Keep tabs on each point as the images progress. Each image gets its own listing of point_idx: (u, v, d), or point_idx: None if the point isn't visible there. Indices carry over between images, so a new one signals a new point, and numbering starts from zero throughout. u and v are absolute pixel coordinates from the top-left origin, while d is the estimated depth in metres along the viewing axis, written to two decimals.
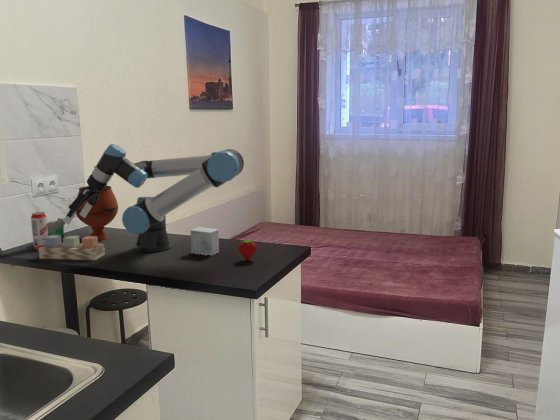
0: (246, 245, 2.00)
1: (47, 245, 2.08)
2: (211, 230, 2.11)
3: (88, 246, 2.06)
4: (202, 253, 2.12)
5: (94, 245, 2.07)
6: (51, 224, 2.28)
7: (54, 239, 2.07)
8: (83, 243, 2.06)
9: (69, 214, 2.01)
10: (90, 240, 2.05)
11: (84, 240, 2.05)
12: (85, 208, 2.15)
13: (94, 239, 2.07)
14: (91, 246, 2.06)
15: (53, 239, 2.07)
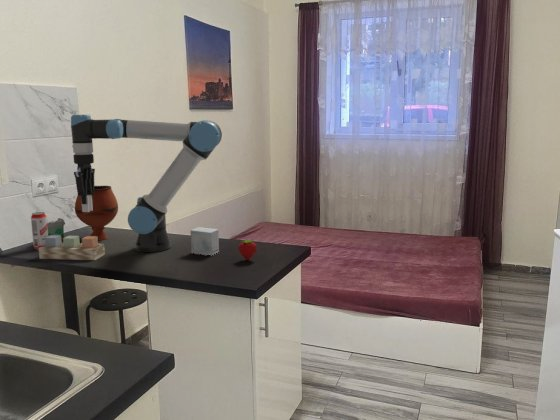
0: (246, 245, 2.00)
1: (47, 245, 2.08)
2: (211, 230, 2.11)
3: (88, 246, 2.06)
4: (202, 253, 2.12)
5: (94, 245, 2.07)
6: (51, 224, 2.28)
7: (54, 239, 2.07)
8: (83, 243, 2.06)
9: (83, 201, 2.02)
10: (90, 240, 2.05)
11: (84, 240, 2.05)
12: None
13: (94, 239, 2.07)
14: (91, 246, 2.06)
15: (53, 239, 2.07)
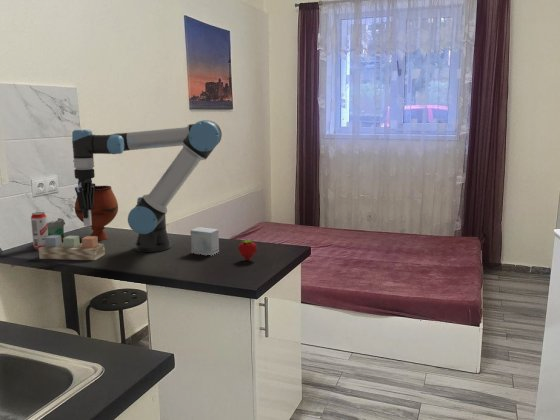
0: (246, 245, 2.00)
1: (47, 245, 2.08)
2: (211, 230, 2.11)
3: (88, 246, 2.06)
4: (202, 253, 2.12)
5: (94, 245, 2.07)
6: (51, 224, 2.28)
7: (54, 239, 2.07)
8: (83, 243, 2.06)
9: (84, 215, 2.04)
10: (90, 240, 2.05)
11: (84, 240, 2.05)
12: None
13: (94, 239, 2.07)
14: (91, 246, 2.06)
15: (53, 239, 2.07)
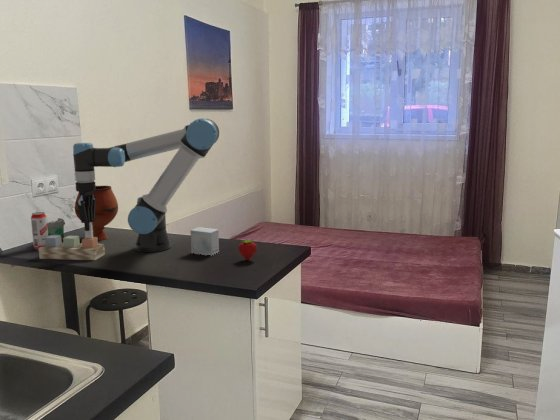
0: (246, 245, 2.00)
1: (47, 245, 2.08)
2: (211, 230, 2.11)
3: (88, 247, 2.06)
4: (202, 253, 2.12)
5: (94, 246, 2.07)
6: (51, 224, 2.28)
7: (54, 239, 2.07)
8: (83, 244, 2.06)
9: (86, 228, 2.05)
10: (90, 241, 2.05)
11: (84, 241, 2.06)
12: None
13: (94, 240, 2.07)
14: (91, 247, 2.06)
15: (53, 239, 2.07)
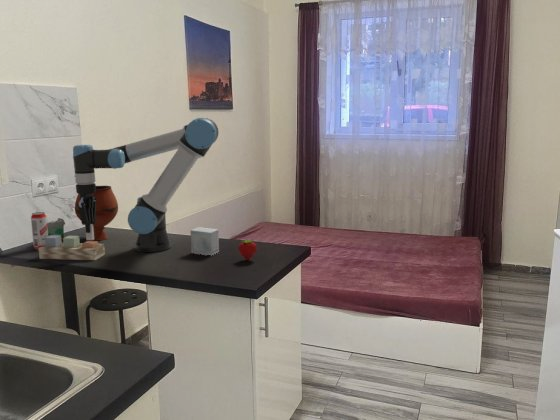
0: (246, 245, 2.00)
1: (47, 245, 2.08)
2: (211, 230, 2.11)
3: None
4: (202, 253, 2.12)
5: None
6: (51, 224, 2.27)
7: (54, 239, 2.07)
8: None
9: (87, 230, 2.05)
10: (90, 245, 2.06)
11: (84, 245, 2.06)
12: None
13: (94, 244, 2.07)
14: None
15: (53, 239, 2.07)
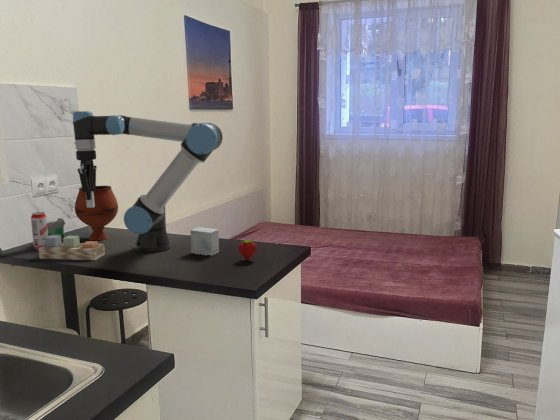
0: (246, 245, 2.00)
1: (47, 245, 2.08)
2: (211, 230, 2.11)
3: None
4: (202, 253, 2.12)
5: None
6: (51, 224, 2.28)
7: (54, 239, 2.07)
8: None
9: (87, 197, 2.05)
10: (90, 245, 2.06)
11: (84, 245, 2.06)
12: None
13: (94, 244, 2.07)
14: None
15: (53, 239, 2.07)
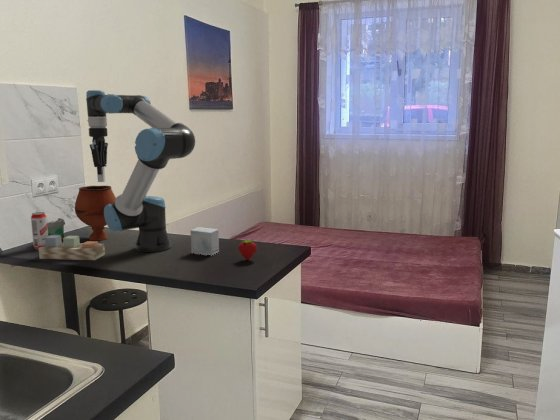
0: (246, 245, 2.00)
1: (47, 245, 2.08)
2: (211, 230, 2.11)
3: None
4: (202, 253, 2.12)
5: None
6: (51, 224, 2.28)
7: (54, 239, 2.07)
8: None
9: (98, 171, 2.17)
10: (90, 245, 2.06)
11: (84, 245, 2.06)
12: None
13: (94, 244, 2.07)
14: None
15: (53, 239, 2.07)
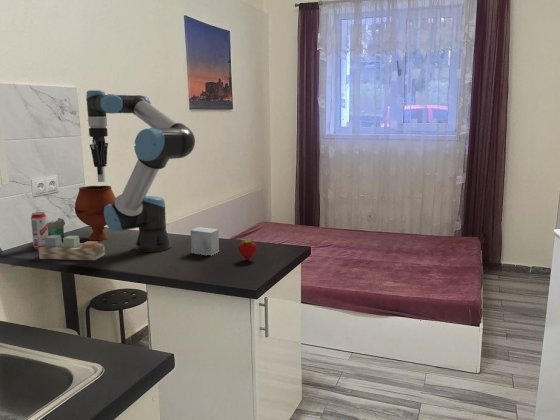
0: (246, 245, 2.00)
1: (47, 245, 2.08)
2: (211, 230, 2.11)
3: None
4: (202, 253, 2.12)
5: None
6: (51, 224, 2.28)
7: (54, 239, 2.07)
8: None
9: (99, 171, 2.17)
10: (90, 245, 2.06)
11: (84, 245, 2.06)
12: None
13: (94, 244, 2.07)
14: None
15: (53, 239, 2.07)
